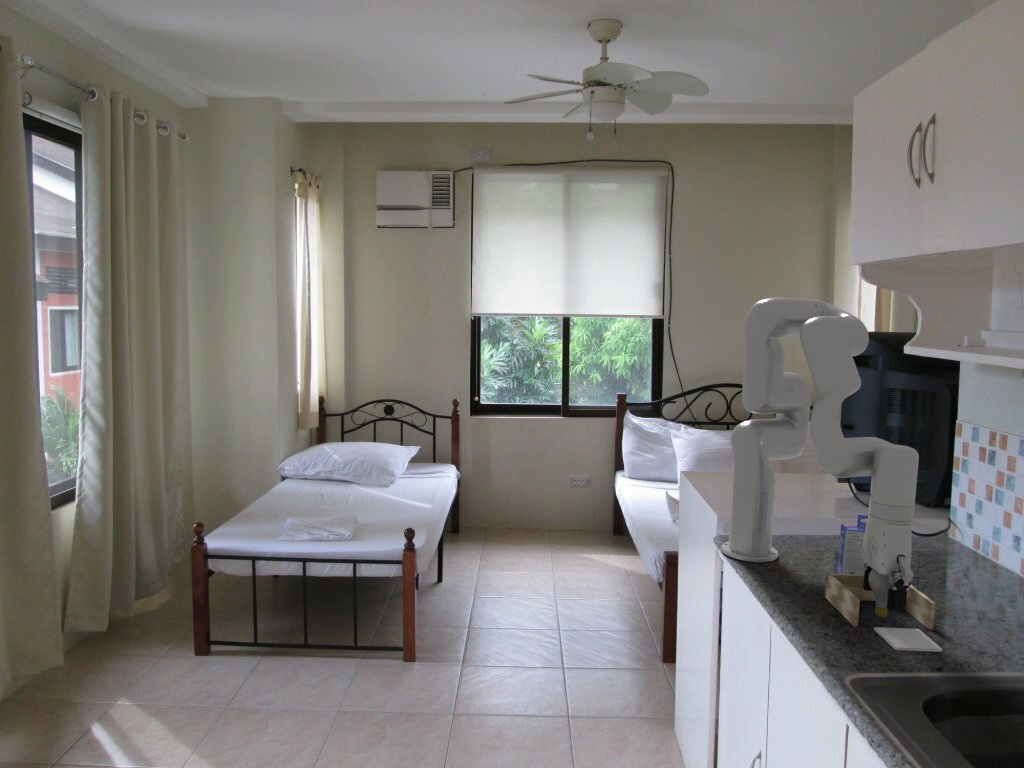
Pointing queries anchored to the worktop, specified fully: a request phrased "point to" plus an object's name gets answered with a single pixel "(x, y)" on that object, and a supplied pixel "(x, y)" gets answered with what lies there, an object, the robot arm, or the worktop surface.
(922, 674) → the worktop surface
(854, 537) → the ink cartridge box
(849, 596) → the u-shaped wooden frame
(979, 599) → the worktop surface
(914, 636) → the grey pad
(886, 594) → the light bulb
